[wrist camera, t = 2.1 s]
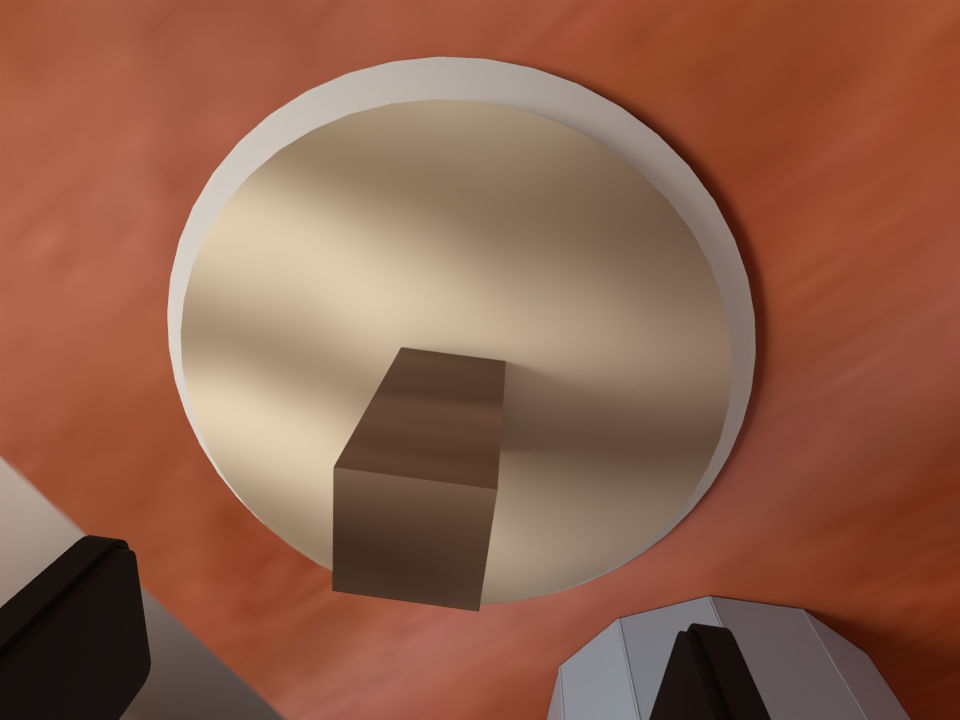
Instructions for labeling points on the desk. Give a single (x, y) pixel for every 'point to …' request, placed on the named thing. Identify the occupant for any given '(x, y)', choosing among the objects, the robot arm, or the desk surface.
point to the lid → (456, 353)
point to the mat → (514, 91)
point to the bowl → (764, 645)
